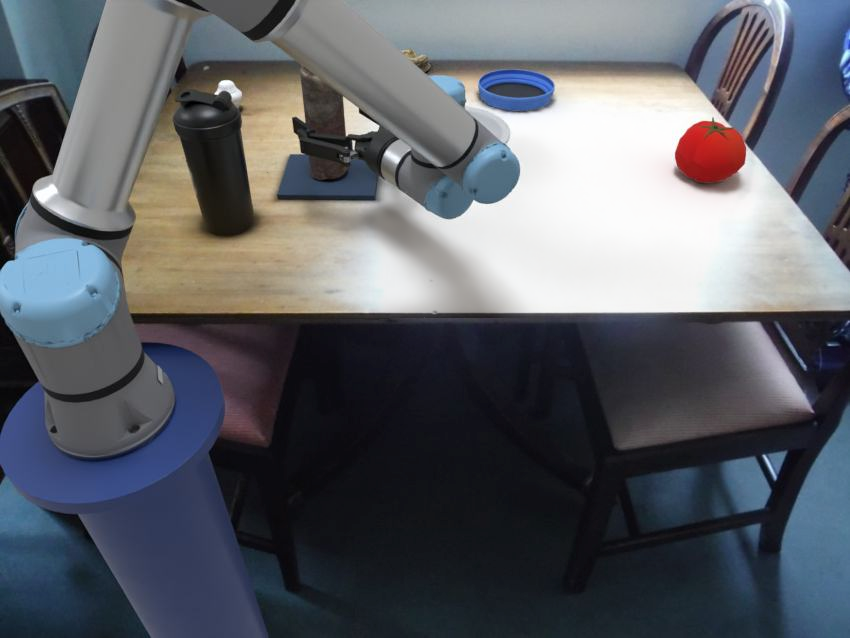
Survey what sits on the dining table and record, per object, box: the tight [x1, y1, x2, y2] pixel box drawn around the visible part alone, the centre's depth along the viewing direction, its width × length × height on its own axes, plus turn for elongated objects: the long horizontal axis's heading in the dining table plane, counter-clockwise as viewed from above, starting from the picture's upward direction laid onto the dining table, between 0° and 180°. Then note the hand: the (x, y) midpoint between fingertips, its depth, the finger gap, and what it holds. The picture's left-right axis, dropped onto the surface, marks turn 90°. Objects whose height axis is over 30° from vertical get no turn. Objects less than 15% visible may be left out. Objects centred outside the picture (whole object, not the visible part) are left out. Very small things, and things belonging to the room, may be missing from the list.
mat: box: [276, 153, 379, 201], centre depth 127 cm, size 18×16×1 cm
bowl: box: [477, 68, 556, 112], centre depth 157 cm, size 18×18×4 cm
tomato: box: [674, 116, 747, 184], centre depth 127 cm, size 13×12×11 cm
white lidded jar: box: [214, 79, 243, 110], centre depth 149 cm, size 6×6×7 cm
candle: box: [299, 65, 348, 180], centre depth 121 cm, size 8×7×20 cm
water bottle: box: [172, 88, 256, 237], centre depth 108 cm, size 10×10×23 cm
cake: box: [400, 47, 431, 73], centre depth 170 cm, size 10×10×5 cm
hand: (328, 114), depth 118 cm, fingers open, 13 cm apart
